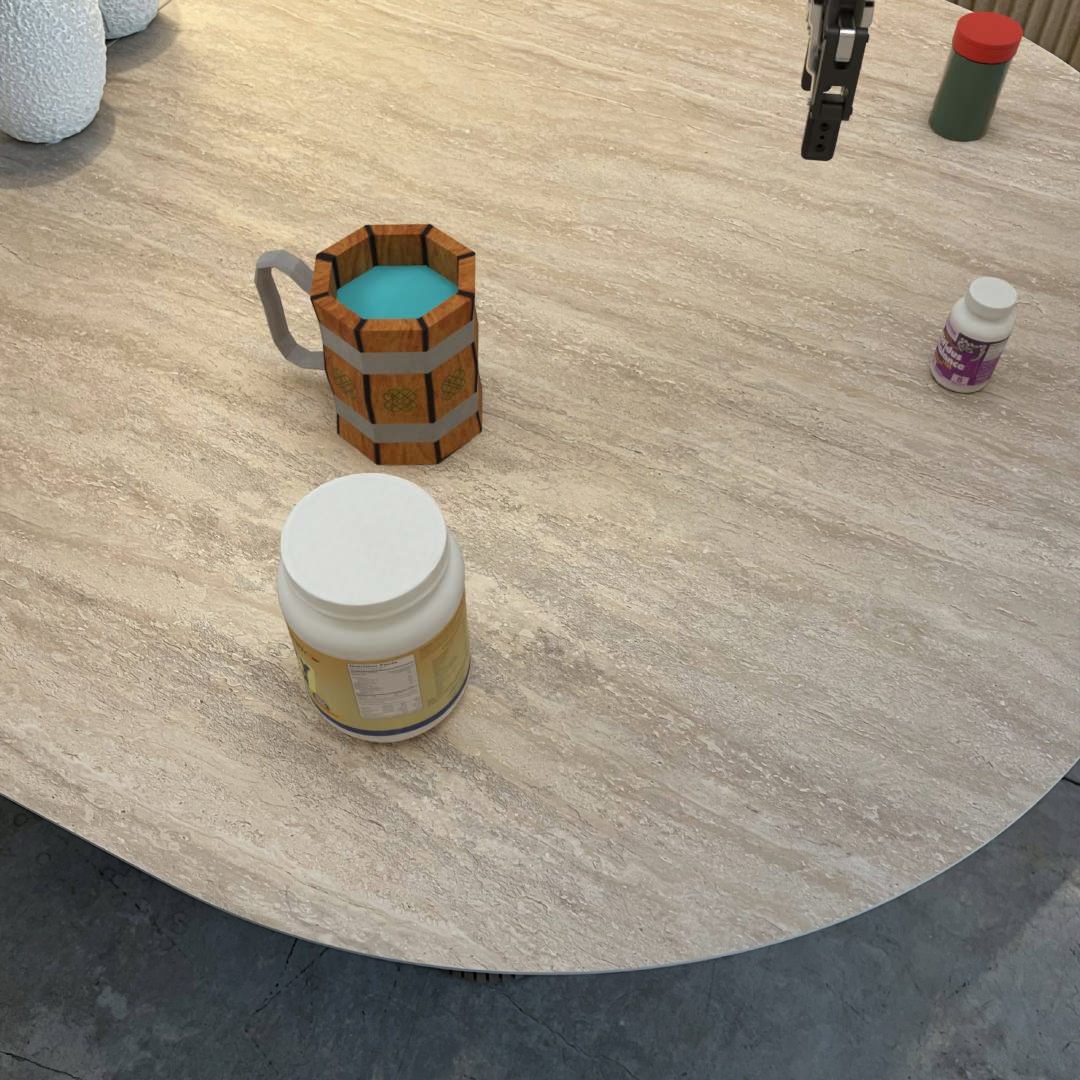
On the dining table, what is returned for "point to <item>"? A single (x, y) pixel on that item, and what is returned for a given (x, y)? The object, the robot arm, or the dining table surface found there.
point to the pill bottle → (975, 335)
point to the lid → (987, 37)
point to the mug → (389, 338)
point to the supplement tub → (375, 606)
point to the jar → (967, 97)
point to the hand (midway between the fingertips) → (815, 122)
